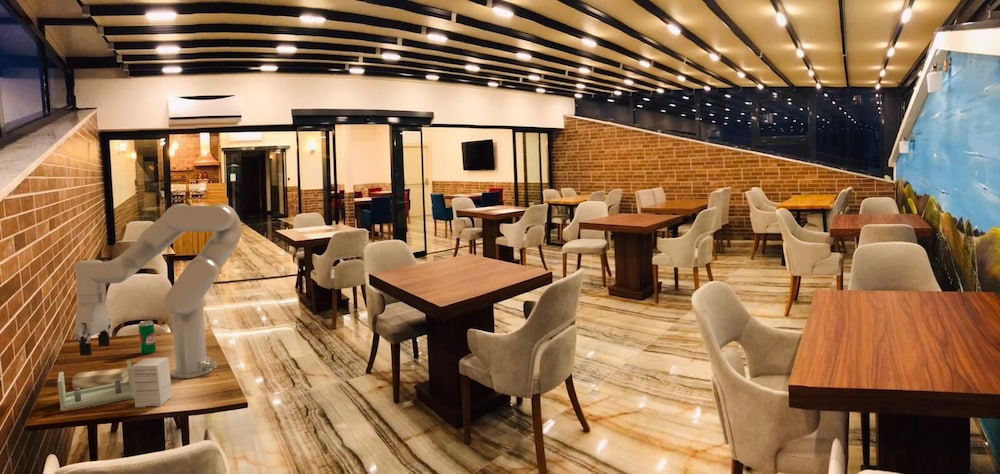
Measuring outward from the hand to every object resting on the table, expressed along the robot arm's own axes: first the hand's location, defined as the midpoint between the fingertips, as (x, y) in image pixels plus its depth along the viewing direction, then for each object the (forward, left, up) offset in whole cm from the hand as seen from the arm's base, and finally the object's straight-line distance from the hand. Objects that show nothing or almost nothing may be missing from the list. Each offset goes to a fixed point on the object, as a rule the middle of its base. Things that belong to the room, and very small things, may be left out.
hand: (95, 350), depth 182 cm
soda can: (+6, -32, -12) cm, 35 cm away
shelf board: (-1, 0, -12) cm, 12 cm away
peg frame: (-10, +12, -11) cm, 19 cm away
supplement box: (-29, +14, -12) cm, 34 cm away
